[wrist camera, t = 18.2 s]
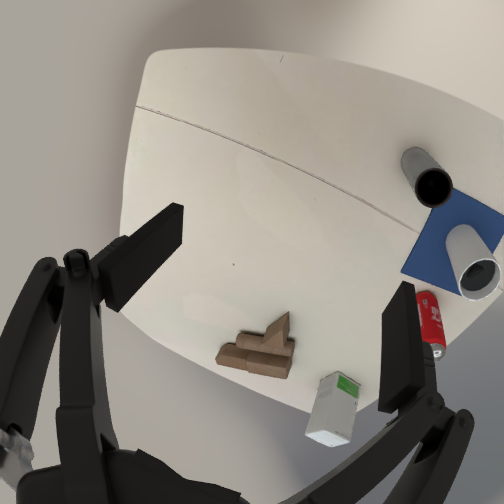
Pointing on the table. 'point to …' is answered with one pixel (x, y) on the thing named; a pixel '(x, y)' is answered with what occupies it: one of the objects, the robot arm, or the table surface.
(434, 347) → the beverage can
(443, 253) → the cloth mat
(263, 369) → the wooden block set
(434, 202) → the gray tube
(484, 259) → the white cup
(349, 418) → the cosmetic box
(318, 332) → the table surface
